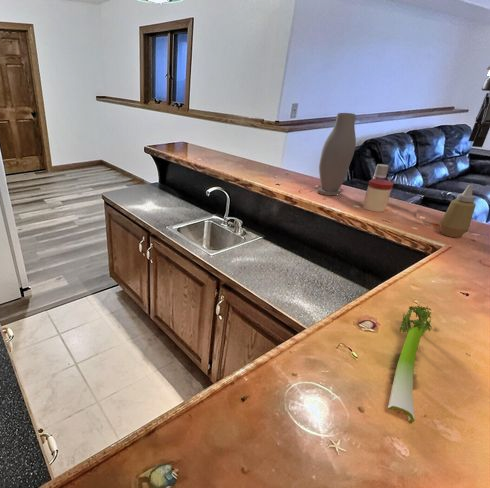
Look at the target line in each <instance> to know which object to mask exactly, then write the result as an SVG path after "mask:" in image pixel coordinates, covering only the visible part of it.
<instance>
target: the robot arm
mask: <svg viewBox="0 0 490 488" xmlns="http://www.w3.org/2000/svg"><path fill="white" fill-rule="evenodd" d="M486 70H488V71H487V74H486V77H488V78H485V79H484V81H483V84H482V85H481V91H482V92H483V91H485V92H486V91H487V92H486V94H485V96H484V97H483V100H482V104H481V106H480V108H479V110H478V113H477V115H476V117H475V122H474V125H473V127H472V130H471V132H470V135H469V138H468V140H467V141H468V142H472V144H471V147H472V148H483V147H484V143H485V141H486V139H487V136H488V134H489V131H490V66H487V67H486Z"/></svg>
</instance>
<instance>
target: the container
mask: <svg viewBox="0 0 490 488" xmlns="http://www.w3.org/2000/svg"><path fill="white" fill-rule="evenodd" d="M389 168H390V165H389V164H384V163H377V165H376V167H375V170H374V174H373V176H372V179H382V180H387V175H388V171H389Z"/></svg>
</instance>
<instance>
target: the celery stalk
mask: <svg viewBox="0 0 490 488" xmlns="http://www.w3.org/2000/svg"><path fill="white" fill-rule="evenodd" d="M431 311H432V308H430V307H428V306H426V307H425V306H423V305H421V306H420V305H417V306H414V305H413V306H412V305H410V306H408V310H407V312H406V314H405V313H403V314H402V317H403V318H402V321H401V324H400V326H399V329H398V330H399V332H401V333H403V334H405V333H407V335H406V337H405V340H404V343H403V346H402V349H401V352H400V355H399V358H398V361H397V363H396V368H395V373H394V378H393V382H392V386H391V391H390V396H389V400H388V405H387V409H388V410H390V411H392V410H394V409H396V410H398V411H401V412H403V413H406V414H407V415H408V416H407V417H408V419H407V420H408V422H409V424H413V423H414V422H415V420H416V418H415V406H414V405H415V404H414V395H413V390H414V372H415V371H414V370H415V363H416V356H417V351H418V347H419V344H420V341H421V338H422V337H423V336H424V334H425V333H426V332H427V331H428V332H430V331H432V330H433V327H432V325H431V323H432V316H431V315H432V312H431ZM412 313H415V317H416V318H417V319H411V317H412ZM411 324H412V325H413V326H412V325H411Z"/></svg>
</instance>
